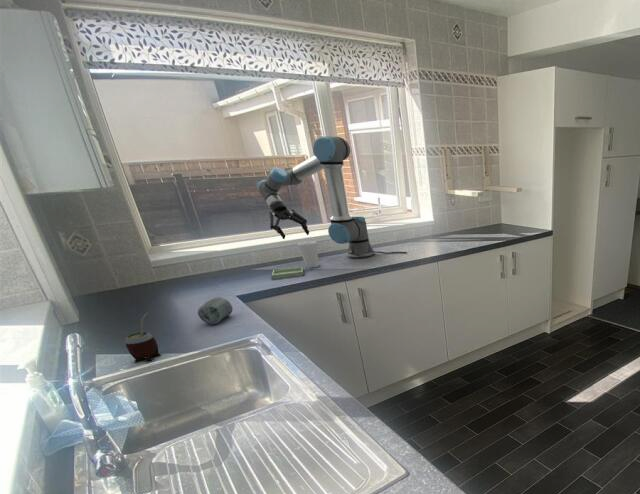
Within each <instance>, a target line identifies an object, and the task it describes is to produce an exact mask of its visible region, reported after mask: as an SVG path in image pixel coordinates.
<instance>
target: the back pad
mask: <svg viewBox="0 0 640 494" xmlns="http://www.w3.org/2000/svg"><path fill="white" fill-rule="evenodd" d="M302 276H304V268H303V266H297V267H289V268H279V269H273V270H272V273H271V277H272V280H278V279H279V280H280V279H288V278H296V277H302Z"/></svg>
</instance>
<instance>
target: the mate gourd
mask: <svg viewBox="0 0 640 494" xmlns="http://www.w3.org/2000/svg"><path fill="white" fill-rule="evenodd" d="M149 313H150V312H149V311H148V312H146V313H145V314H144V315H143V316H142V317H141V319H140V322H139V324H140V331H139V332H135V333H131V334H129V335H127V337H126V338H125V341H124V343H125V346H126V349H127V351H128V353H129V354H130V356H131V357H132V358H133V359H134V362H135V363H139V362H142V361H145V360H147V362H152V359H153V358H156V357H160V356H161V353H159V345H158V343H157V339H155V337H154V336H153V335H152V334H151V333H150V332H147V331H144V324H145V323H144V322H145V318H146V317H147V316H148V315H149ZM145 357H146V358H145Z"/></svg>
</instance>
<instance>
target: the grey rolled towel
mask: <svg viewBox="0 0 640 494" xmlns="http://www.w3.org/2000/svg"><path fill="white" fill-rule="evenodd" d="M233 311H234V310H233V305H232V303H231V302H230V301H229V300H228V299H226V298H224V297H221V296H220V297H213V298H211V299H209V300H207V301H206V302H204V303H203V304H202V305H201V306H200V307H198V310H197V315H198V317H199V319H200V320H201V321H202V322H204V323H206V324H208V325H214V326H215V325H218V324H219V323H221V321H223V320H224V319H225V318H227V317H229V316H230V315H231V314H232V313H233Z"/></svg>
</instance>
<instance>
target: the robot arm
mask: <svg viewBox="0 0 640 494" xmlns="http://www.w3.org/2000/svg"><path fill="white" fill-rule="evenodd" d="M312 153H313V156H311V157H310V158H308V159H306V160H304V161H302V162H301V163H299V164H297V165H296V166H294V167H292V168H290V169H289V170H284V169H282V168H280V167H276V166H275V167H273V168H272V170H271V171H270V173H269V174H268V176H267V177H266V179H262V180H260V181H258V182H257V184H256V188H257V190H258V192H259V194H260V195H261V197H262V198H263V200H264V201H265V203H266V204H267V205H268V208H270V211H269V214H268V217H269V223H270V224H269V225H270V226H269V228H270V229H271V230H274V231H275V232H276V233H277V234H279V235H280V236H281V238H282V239H283V240H285V239H286V234H285V233H284V231H283V229H282V228H281V226H279V224H280V222H281V220H282V221H285V220H289V221H292V222H294V223H297V224H298V225H300V226H301V228H302V229H303V231H304V233H305V234H306V235H307V236H309V234H310V231H309V228H308V225H307V223H308V220H307V219H306V218H304V217H303V216H301V215H300V214H299V213H297V211H296V210H295V209H291V210H289V209H288V208H287V206H286V205H285V203H284V202H283V200H282V199H281V197H280V196H279V193H278V192H279V191H280V189H281V188H282V187H286V186H297V185H299V184H301V183H302V182H303V181H304V180H305V179H308V178H309V177H311V176H312V175H315V174H317V173H318V172H320V171H322V170H324V176H325V183H326V187H327V192H328V198H329V204H330V210H331V217H330V218H329V220H330V225H329V226H328V228H327V229H328V230H327V232H328V233H327V234H328V235H329V238H330V239H331V240H332V241H333V242H335V243H337V244H340V245H343V244H348V249H347V258H350V259H364V258H370V257H372V256H374V255H375V253H377V254H385V255H391V254H407V251H390V252H385V251H375V250H374V249H373V247H372V245H371V243H370V239H369V233H368V232H369V231H368V227H367V221H366V218H365V217H364V216H351V215H350V213H349V207H348V201H347V195H346V189H345V182H344V178H343V171H342V168H343V166H344V161H345V160H347V159H348V158H349V157H350V154H351V147H350V145H349V143H348V141H347V140H346V139H345V138H343V137H341V136H329V135H324V136H323V135H322V136H318V137H316V139H314V141H313V144H312ZM275 217H276V218H277V219H276V221H275V224H274V218H275Z"/></svg>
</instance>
